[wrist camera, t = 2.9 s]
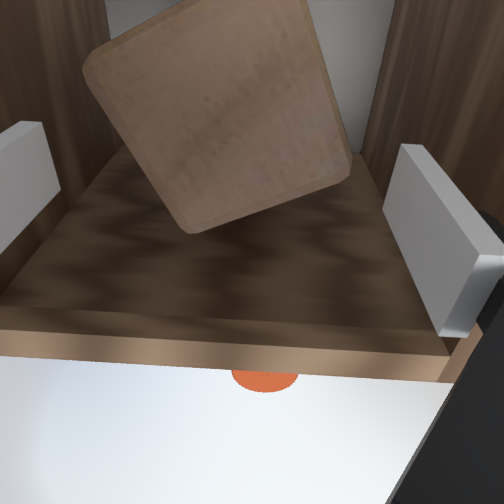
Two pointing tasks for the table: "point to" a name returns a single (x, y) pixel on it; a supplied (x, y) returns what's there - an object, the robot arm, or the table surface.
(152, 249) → the cubby
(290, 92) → the wooden block
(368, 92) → the table surface
